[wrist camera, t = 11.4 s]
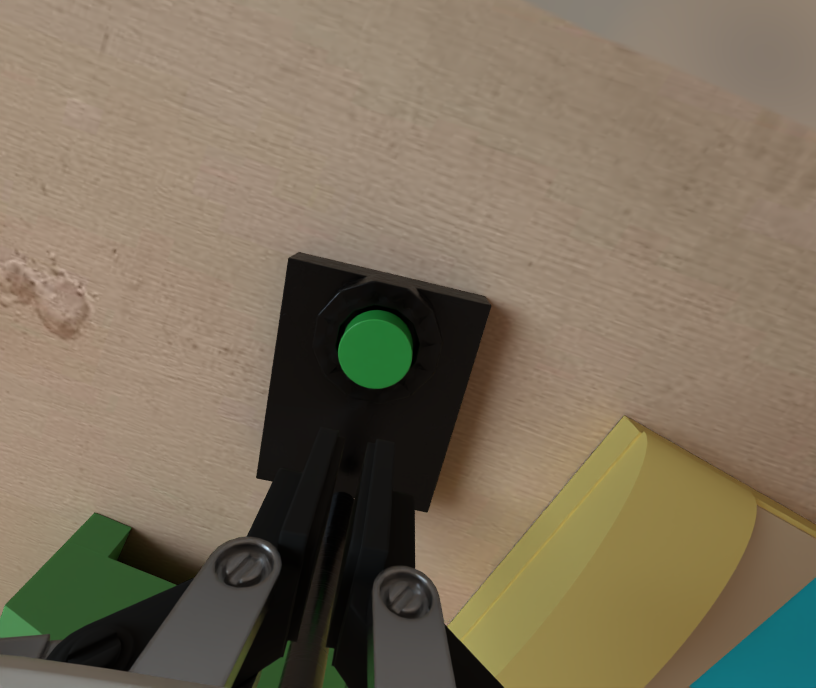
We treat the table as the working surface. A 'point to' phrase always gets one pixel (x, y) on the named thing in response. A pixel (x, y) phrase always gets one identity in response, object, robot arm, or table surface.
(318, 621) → the lamp
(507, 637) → the pop-up book
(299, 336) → the lamp base
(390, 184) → the table surface
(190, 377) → the table surface
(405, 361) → the button
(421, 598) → the robot arm
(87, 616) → the green cradle stand
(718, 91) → the table surface
